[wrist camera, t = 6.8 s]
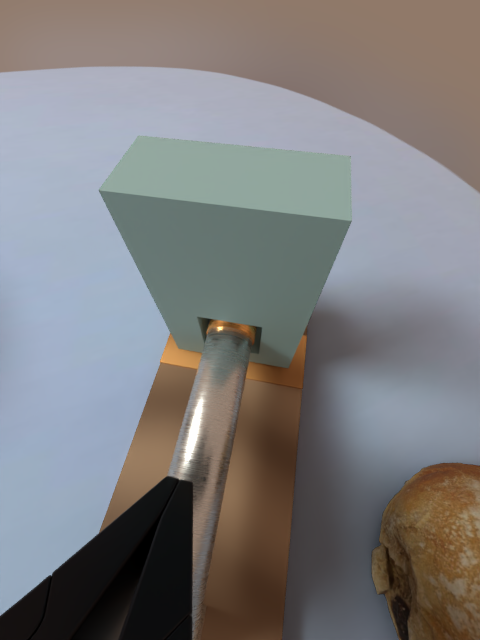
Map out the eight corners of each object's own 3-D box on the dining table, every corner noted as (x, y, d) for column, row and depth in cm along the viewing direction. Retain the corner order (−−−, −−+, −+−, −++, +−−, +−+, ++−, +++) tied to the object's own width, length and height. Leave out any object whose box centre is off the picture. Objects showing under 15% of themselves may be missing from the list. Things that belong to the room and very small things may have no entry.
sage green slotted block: (288, 368, 16) (351, 220, 7) (178, 348, 17) (98, 190, 8) (293, 326, 18) (350, 156, 8) (191, 309, 19) (138, 135, 9)
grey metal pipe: (199, 656, 11) (172, 767, 7) (139, 638, 11) (78, 735, 7) (264, 296, 20) (270, 249, 16) (230, 291, 20) (227, 243, 16)
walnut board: (272, 701, 11) (275, 724, 10) (69, 638, 12) (53, 653, 11) (306, 311, 20) (309, 302, 19) (190, 292, 21) (188, 283, 20)
